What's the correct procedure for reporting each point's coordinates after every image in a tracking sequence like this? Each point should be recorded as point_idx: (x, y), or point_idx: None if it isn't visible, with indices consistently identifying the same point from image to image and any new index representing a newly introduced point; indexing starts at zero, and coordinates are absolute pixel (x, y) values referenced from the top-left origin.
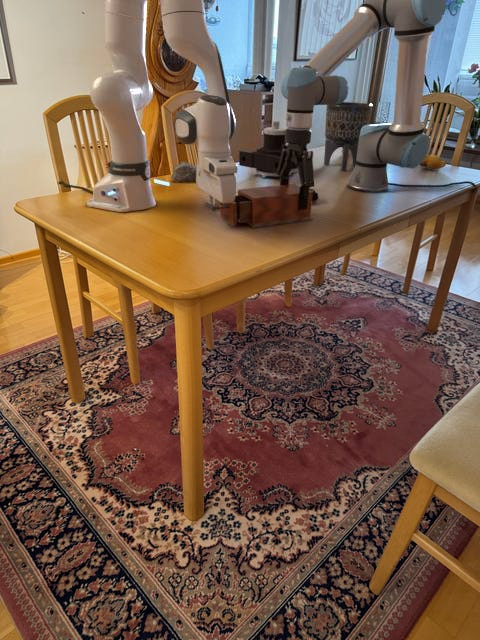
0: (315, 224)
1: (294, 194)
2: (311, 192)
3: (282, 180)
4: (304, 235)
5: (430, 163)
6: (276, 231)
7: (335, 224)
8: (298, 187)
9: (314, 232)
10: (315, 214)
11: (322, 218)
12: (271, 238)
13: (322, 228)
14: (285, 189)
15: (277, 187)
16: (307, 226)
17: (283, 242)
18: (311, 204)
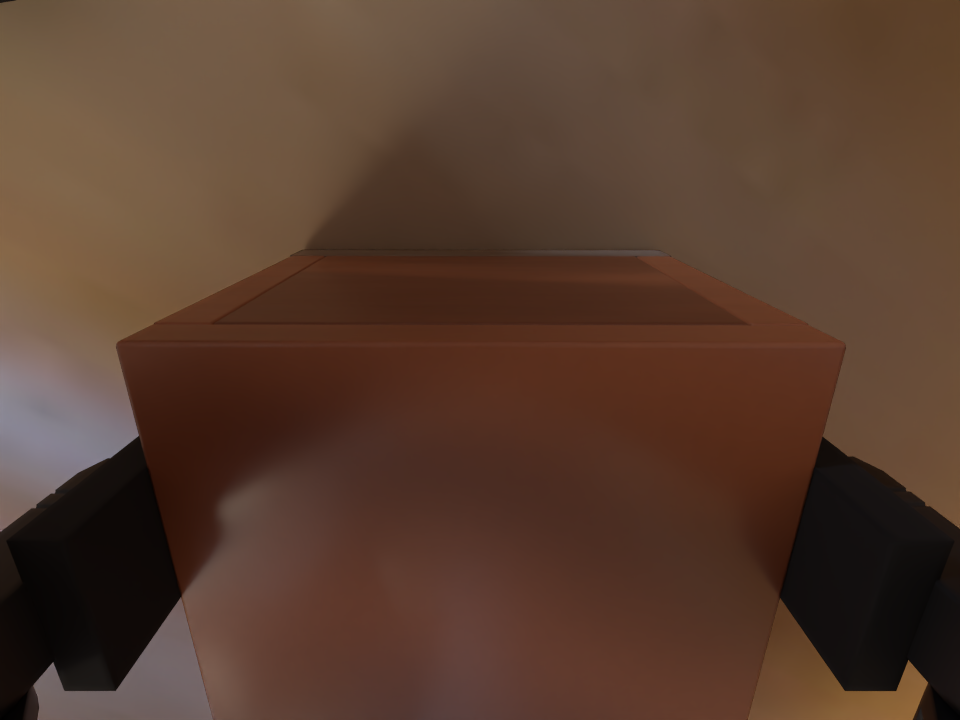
0: (794, 278)
1: (758, 656)
2: (835, 369)
3: (127, 658)
4: (940, 506)
5: None
6: None
7: (924, 67)
8: (429, 422)
9: (945, 405)
10: (522, 71)
11: (682, 82)
12: (836, 698)
13: (920, 282)
14: (473, 661)
15: (320, 704)
16: None
17: None
18: (730, 288)
